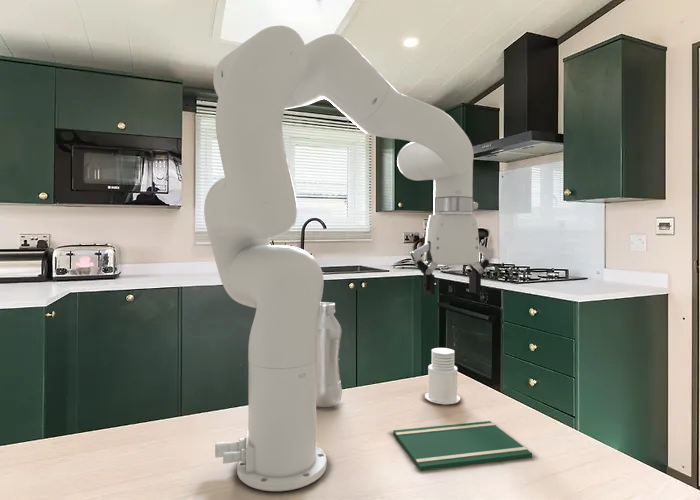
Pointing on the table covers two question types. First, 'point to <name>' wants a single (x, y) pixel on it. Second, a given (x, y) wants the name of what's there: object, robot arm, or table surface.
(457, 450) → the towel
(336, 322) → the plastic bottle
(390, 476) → the table surface
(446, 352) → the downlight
